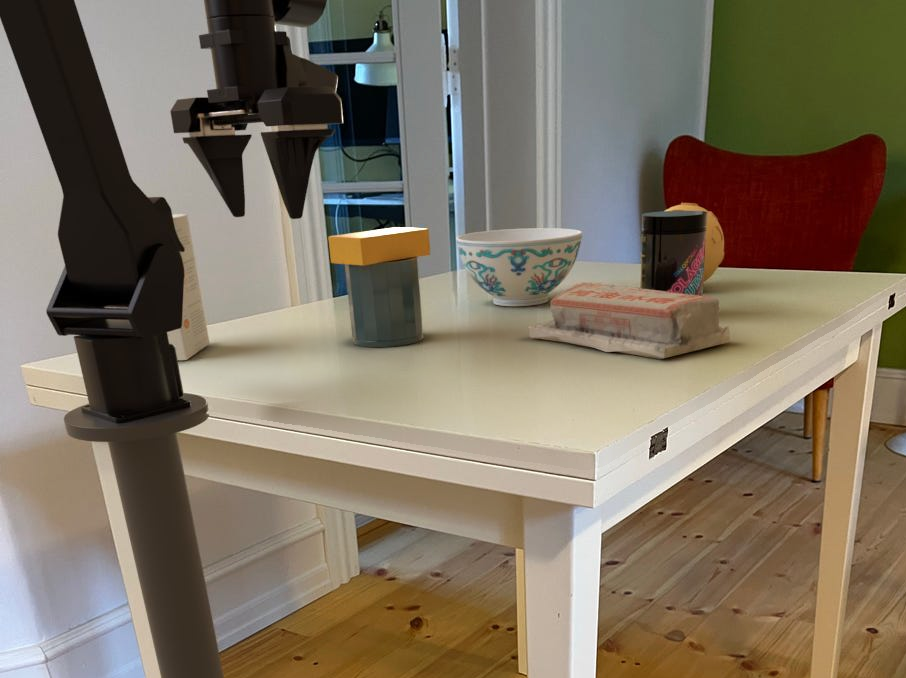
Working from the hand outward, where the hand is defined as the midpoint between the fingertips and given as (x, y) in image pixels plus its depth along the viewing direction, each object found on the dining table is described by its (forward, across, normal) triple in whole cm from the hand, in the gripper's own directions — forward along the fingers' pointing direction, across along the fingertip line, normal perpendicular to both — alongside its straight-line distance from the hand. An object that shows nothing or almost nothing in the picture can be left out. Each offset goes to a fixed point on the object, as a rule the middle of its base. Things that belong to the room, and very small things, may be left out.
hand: (266, 217), depth 91 cm
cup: (+13, -2, -12) cm, 17 cm away
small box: (+13, +13, +5) cm, 19 cm away
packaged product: (+13, -24, -24) cm, 36 cm away
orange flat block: (+5, -2, -12) cm, 13 cm away
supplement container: (+13, -20, -37) cm, 44 cm away
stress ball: (+13, -10, -54) cm, 56 cm away
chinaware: (+13, +2, -37) cm, 39 cm away
